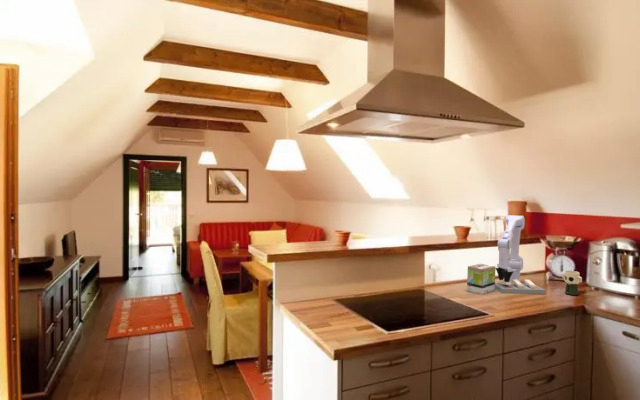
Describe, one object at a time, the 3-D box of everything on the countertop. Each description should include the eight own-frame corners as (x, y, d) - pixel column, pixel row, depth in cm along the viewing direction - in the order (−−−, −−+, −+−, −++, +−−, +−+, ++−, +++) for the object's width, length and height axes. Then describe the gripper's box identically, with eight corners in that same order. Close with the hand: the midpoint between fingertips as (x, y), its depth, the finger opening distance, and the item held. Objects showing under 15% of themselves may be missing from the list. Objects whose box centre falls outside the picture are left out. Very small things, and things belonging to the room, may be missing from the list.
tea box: (483, 294, 201) (483, 269, 200) (466, 291, 208) (466, 266, 208) (495, 290, 210) (495, 265, 210) (478, 286, 218) (479, 262, 218)
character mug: (557, 292, 206) (558, 270, 206) (566, 291, 208) (567, 269, 208) (576, 297, 196) (577, 274, 195) (585, 296, 198) (586, 273, 198)
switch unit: (491, 286, 218) (492, 281, 217) (532, 287, 216) (532, 282, 216) (502, 293, 204) (502, 287, 203) (545, 294, 202) (545, 288, 202)
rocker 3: (524, 281, 213) (524, 279, 213) (528, 281, 213) (529, 279, 213) (531, 287, 205) (531, 285, 205) (536, 288, 205) (536, 285, 205)
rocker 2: (512, 281, 214) (512, 279, 213) (516, 281, 213) (517, 279, 213) (518, 287, 206) (518, 285, 206) (523, 287, 206) (523, 285, 205)
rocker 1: (500, 284, 214) (500, 281, 214) (505, 284, 214) (504, 281, 214) (506, 284, 206) (506, 282, 207) (511, 284, 206) (511, 282, 206)
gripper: (492, 256, 220) (491, 278, 220) (502, 260, 205) (502, 284, 205) (503, 256, 219) (503, 278, 219) (515, 261, 205) (515, 284, 205)
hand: (503, 281), depth 212 cm, fingers open, 7 cm apart
